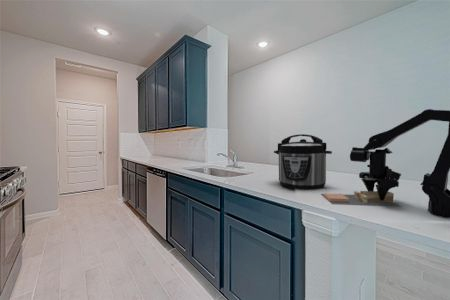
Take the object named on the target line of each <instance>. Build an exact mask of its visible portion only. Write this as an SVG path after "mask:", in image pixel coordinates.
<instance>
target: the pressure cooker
mask: <svg viewBox="0 0 450 300" xmlns="http://www.w3.org/2000/svg"><path fill="white" fill-rule="evenodd" d="M296 137H310V138H311V140H312V141H307V139H305V138H303V139H302V138H301V139H300V140H299V141H291V139H292V138H296ZM273 153H274V154H277V155H278V181H279V184H280V185H281V186H282V187H285V188H289V189H291V190H293V189H297V190H319V189H323V188H324V187H325V186H326V183H327V182H326V181H327V154H329V155H332V153H333V151H332V150H327V142H323V139H321V138H319V137H318V136H315V135H311V134H293V135H290V136H287V137H285V138H283V139H282V140H281V141H280V143H279V142H278V143H277V150H274V151H273Z"/></svg>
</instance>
